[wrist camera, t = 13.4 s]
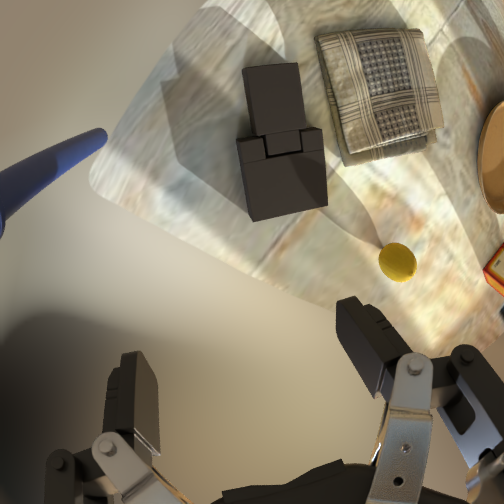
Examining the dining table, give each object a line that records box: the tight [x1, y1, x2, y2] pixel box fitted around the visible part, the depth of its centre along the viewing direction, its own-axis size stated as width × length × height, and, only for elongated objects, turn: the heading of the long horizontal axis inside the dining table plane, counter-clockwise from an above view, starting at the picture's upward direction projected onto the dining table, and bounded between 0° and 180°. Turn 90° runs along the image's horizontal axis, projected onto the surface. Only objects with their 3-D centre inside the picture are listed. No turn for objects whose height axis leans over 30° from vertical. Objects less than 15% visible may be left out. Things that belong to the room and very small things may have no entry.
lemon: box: [379, 243, 417, 282], centre depth 44 cm, size 6×6×8 cm
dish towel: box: [314, 28, 444, 167], centre depth 34 cm, size 19×18×3 cm
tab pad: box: [242, 63, 306, 155], centre depth 33 cm, size 6×10×2 cm, turn 8°
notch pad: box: [236, 127, 328, 222], centre depth 37 cm, size 10×10×2 cm
